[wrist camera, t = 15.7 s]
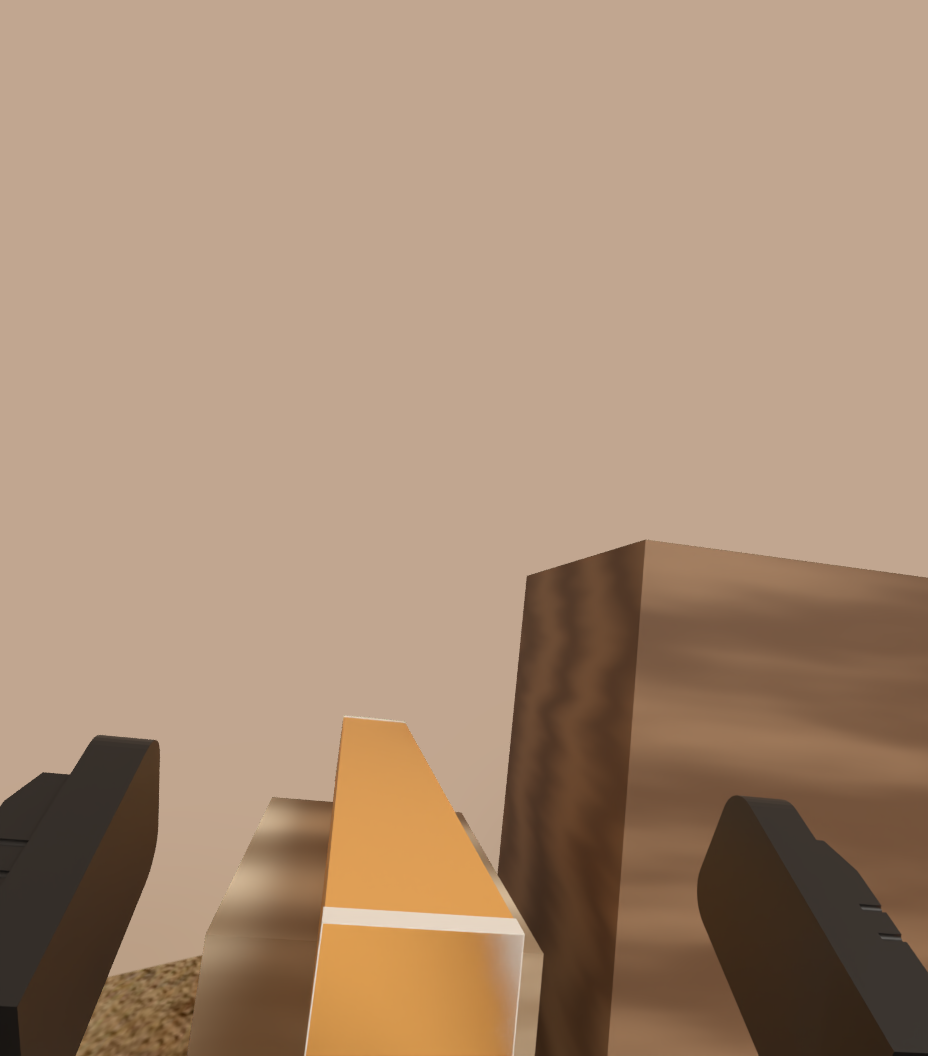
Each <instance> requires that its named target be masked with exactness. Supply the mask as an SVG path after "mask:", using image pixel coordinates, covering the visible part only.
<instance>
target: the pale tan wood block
mask: <svg viewBox="0 0 928 1056" xmlns="http://www.w3.org/2000/svg"><path fill="white" fill-rule="evenodd" d="M524 936H525V934H524V932H523V930H522V928H521V927H520V925H519V923H518V921H517V919H514V918H513V916H512V914H511V912H510V911H509V909H508V907H507V905H506V903H505V902H504V900H503V898H502V896H501V894H500V893H499V891H498V889H497V887H496V885H495V884H494V882H493V880H492V878H491V876H490V875H489V873H488V871H487V869H486V867H485V866H484V864H483V862H482V860H481V858H480V857H479V855H478V853H477V851H476V849H475V848H474V846H473V844H472V842H471V840H470V839H469V837H468V835H467V833H466V831H465V830H464V828H463V826H462V824H461V822H460V821H459V819H458V817H457V815H456V813H455V812H454V810H453V808H452V806H451V805H450V803H449V801H448V799H447V797H446V795H445V794H444V792H443V790H442V788H441V786H440V785H439V783H438V781H437V779H436V777H435V776H434V774H433V772H432V770H431V768H430V767H429V765H428V763H427V761H426V759H425V758H424V756H423V754H422V752H421V750H420V749H419V747H418V745H417V743H416V741H415V740H414V738H413V736H412V734H411V732H410V731H409V729H408V727H407V725H406V722H405V721H397V720H387V719H377V718H367V717H357V716H346V715H344V717H343V724H342V732H341V740H340V747H339V755H338V762H337V770H336V777H335V789H334V798H333V807H332V816H331V824H330V833H329V842H328V851H327V860H326V868H325V877H324V886H323V895H322V903H321V912H320V921H319V930H318V938H317V947H316V956H315V965H314V974H313V982H312V991H311V1000H310V1009H309V1017H308V1026H307V1035H306V1044H305V1052H304V1056H514V1045H515V1035H516V1024H517V1013H518V1002H519V991H520V980H521V969H522V958H523V947H524Z"/></svg>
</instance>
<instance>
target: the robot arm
mask: <svg viewBox="0 0 928 1056" xmlns="http://www.w3.org/2000/svg"><path fill="white" fill-rule="evenodd" d="M159 767H160V749H159V743H158V741H156V740H148V739H137V738H127V737H115V736H105V735H97V736H96V737H94V739H93V740H92V741H91V742H90V744H89V745H88V747H87V748H86V750H85V752H84V754H83V755H82V756H81V758H80V760H79V761H78V763H77V764H76V766H75V768H74V769H73V771H72V772H71V774H70V775H67V774H55V773H44V772H43V773H42V774H40V775H39V776H38V777H36V778H35V779H33V780H32V781H31V782H29V783H28V784H27V785H25V786H24V787H22V788H21V789H20V790H18V791H17V792H16V793H14V794H13V795H12V796H10V797H9V798H8V799H6V800H5V801H4V802H3V803H2V805H1V806H0V1056H76V1053H77V1051H78V1048H79V1046H80V1043H81V1041H82V1038H83V1036H84V1033H85V1031H86V1028H87V1026H88V1024H89V1021H90V1019H91V1016H92V1014H93V1011H94V1009H95V1006H96V1004H97V1001H98V999H99V996H100V994H101V992H102V989H103V987H104V984H105V982H106V979H107V977H108V974H109V972H110V969H111V967H112V964H113V962H114V959H115V957H116V955H117V952H118V949H119V947H120V945H121V942H122V940H123V937H124V935H125V932H126V930H127V927H128V925H129V922H130V920H131V917H132V915H133V912H134V910H135V907H136V905H137V903H138V900H139V898H140V895H141V893H142V890H143V888H144V886H145V883H146V880H147V878H148V875H149V872H150V869H151V865H152V861H153V857H154V853H155V848H156V842H157V835H158V813H159V810H158V809H159ZM697 901H698V908H699V912H700V916H701V919H702V922H703V924H704V927H705V929H706V931H707V934H708V936H709V939H710V941H711V943H712V946H713V948H714V951H715V953H716V955H717V958H718V960H719V962H720V965H721V967H722V970H723V972H724V974H725V977H726V979H727V981H728V984H729V986H730V989H731V991H732V993H733V996H734V998H735V1000H736V1003H737V1005H738V1008H739V1010H740V1012H741V1015H742V1017H743V1020H744V1022H745V1024H746V1027H747V1029H748V1031H749V1034H750V1036H751V1039H752V1041H753V1043H754V1046H755V1048H756V1050H757V1053H758V1055H759V1056H928V972H927V970H926V969H925V967H924V966H923V965H922V963H921V962H920V960H919V959H918V957H917V956H916V954H915V953H914V952H913V950H912V949H911V947H910V946H909V944H908V943H907V942H903V941H902V939H901V935H902V934H901V933H900V931H899V930H898V929H897V927H896V926H895V924H894V923H893V921H892V920H891V918H890V917H889V916H888V914H887V913H886V912H882V910H881V904H880V903H879V901H878V900H877V898H876V897H875V895H874V894H873V893H872V891H871V890H870V888H869V887H868V885H867V884H866V883H865V881H864V880H863V878H862V877H861V875H860V874H859V872H858V871H857V870H856V869H855V868H854V867H852V866H851V865H850V864H849V863H848V862H847V861H846V860H845V859H844V858H843V857H841V856H840V855H839V854H838V853H837V852H836V851H835V850H834V849H833V848H831V847H830V846H829V845H828V844H827V843H826V842H825V841H823V840H816V839H815V837H814V836H813V834H812V833H811V831H810V830H809V828H808V827H807V825H806V824H805V822H804V821H803V819H802V818H801V816H800V815H799V813H798V811H797V810H796V809H795V807H794V806H793V805H792V804H791V803H790V802H788V801H786V800H783V799H773V798H762V797H751V796H740V795H735V796H732V797H731V798H729V799H728V801H727V802H726V804H725V806H724V809H723V811H722V814H721V816H720V819H719V822H718V824H717V827H716V829H715V832H714V835H713V837H712V840H711V843H710V845H709V848H708V850H707V853H706V856H705V858H704V861H703V864H702V866H701V869H700V872H699V875H698V881H697Z"/></svg>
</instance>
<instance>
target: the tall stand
mask: <svg viewBox="0 0 928 1056" xmlns="http://www.w3.org/2000/svg"><path fill="white" fill-rule="evenodd" d="M735 795H740V796H751V797H762V798H773V799H783V800H786V801H788V802H790V803H791V804H792V805H793V806H794V807H795V809H796V810H797V811H798V813H799V815H800V816H801V818H802V819H803V821H804V822H805V824H806V825H807V827H808V828H809V830H810V831H811V833H812V834H813V836H814V837H815V839H816V840H823V841H825V842H826V843H827V844H828V845H829V846H830V847H831V848H833V849H834V850H835V851H836V852H837V853H838V854H839V855H840V856H841V857H843V858H844V859H845V860H846V861H847V862H848V863H849V864H850V865H851V866H852V867H854V868H855V869H856V870H857V871H858V872H859V874H860V875H861V877H862V878H863V880H864V881H865V883H866V884H867V885H868V887H869V888H870V890H871V891H872V893H873V894H874V895H875V897H876V898H877V900H878V901H879V903H880V904H881V910H882V912H886V913H887V914H888V916H889V917H890V918H891V920H892V921H893V923H894V924H895V926H896V927H897V929H898V930H899V931H900V933H901V934H902V935H901V939H902V941H903V942H907V943H908V944H909V946H910V947H911V949H912V950H913V952H914V953H915V954H916V956H917V957H918V959H919V960H920V962H921V963H922V965H923V966H924V967H925V969H926V970H927V972H928V578H926V577H918V576H911V575H903V574H896V573H888V572H881V571H874V570H866V569H859V568H851V567H844V566H837V565H829V564H822V563H815V562H807V561H799V560H791V559H785V558H777V557H770V556H763V555H755V554H748V553H740V552H733V551H726V550H718V549H711V548H704V547H696V546H689V545H681V544H673V543H666V542H659V541H651V540H643V541H640V542H636V543H633V544H630V545H627V546H623V547H620V548H617V549H614V550H610V551H607V552H604V553H600V554H597V555H594V556H591V557H587V558H585V559H581V560H578V561H575V562H571V563H568V564H565V565H561V566H558V567H555V568H551V569H548V570H545V571H542V572H538V573H535V574H532V575H529V576H527V581H526V592H525V601H524V611H523V622H522V631H521V643H520V653H519V662H518V672H517V684H516V693H515V703H514V713H513V723H512V734H511V744H510V754H509V764H508V774H507V785H506V795H505V806H504V815H503V825H502V835H501V845H500V856H499V866H498V877H499V878H500V880H501V882H502V883H503V885H504V887H505V889H506V890H507V892H508V894H509V895H510V897H511V899H512V901H513V902H514V904H515V906H516V907H517V909H518V911H519V913H520V914H521V916H522V918H523V919H524V921H525V923H526V925H527V926H528V928H529V930H530V931H531V933H532V935H533V937H534V938H535V940H536V942H537V944H538V945H539V947H540V949H541V950H542V952H543V954H544V956H543V967H542V979H541V990H540V1002H539V1013H538V1024H537V1036H536V1047H535V1056H759V1055H758V1053H757V1050H756V1048H755V1046H754V1043H753V1041H752V1039H751V1036H750V1034H749V1031H748V1029H747V1027H746V1024H745V1022H744V1020H743V1017H742V1015H741V1012H740V1010H739V1008H738V1005H737V1003H736V1000H735V998H734V996H733V993H732V991H731V989H730V986H729V984H728V981H727V979H726V977H725V974H724V972H723V970H722V967H721V965H720V962H719V960H718V958H717V955H716V953H715V951H714V948H713V946H712V943H711V941H710V939H709V936H708V934H707V931H706V929H705V927H704V924H703V922H702V919H701V916H700V912H699V908H698V901H697V881H698V875H699V872H700V869H701V866H702V864H703V861H704V858H705V856H706V853H707V850H708V848H709V845H710V843H711V840H712V837H713V835H714V832H715V829H716V827H717V824H718V822H719V819H720V816H721V814H722V811H723V809H724V806H725V804H726V802H727V801H728V799H729V798H731V797H732V796H735Z"/></svg>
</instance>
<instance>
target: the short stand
mask: <svg viewBox="0 0 928 1056" xmlns="http://www.w3.org/2000/svg"><path fill="white" fill-rule="evenodd" d="M332 807H333V802H325V801H312V800H301V799H288V798H276V797H272V799H271V801H270V803H269V805H268V808H267V809H266V811H265V814H264V816H263V818H262V820H261V822H260V824H259V826H258V828H257V830H256V832H255V834H254V836H253V838H252V840H251V842H250V844H249V846H248V849H247V851H246V853H245V855H244V857H243V859H242V861H241V863H240V865H239V867H238V869H237V871H236V873H235V876H234V878H233V880H232V881H231V884H230V886H229V888H228V890H227V892H226V894H225V896H224V898H223V900H222V902H221V904H220V906H219V908H218V910H217V912H216V914H215V916H214V918H213V921H212V923H211V925H210V927H209V929H208V931H207V933H206V936H205V942H204V948H203V955H202V961H201V968H200V974H199V981H198V987H197V994H196V1000H195V1007H194V1013H193V1020H192V1026H191V1033H190V1039H189V1046H188V1052H187V1056H304V1052H305V1044H306V1035H307V1026H308V1017H309V1009H310V1000H311V991H312V982H313V974H314V965H315V956H316V947H317V938H318V930H319V921H320V912H321V903H322V895H323V886H324V877H325V868H326V860H327V851H328V842H329V833H330V824H331V816H332ZM455 813H456V815H457V817H458V819H459V821H460V822H461V824H462V826H463V828H464V830H465V831H466V833H467V835H468V837H469V839H470V840H471V842H472V844H473V846H474V848H475V849H476V851H477V853H478V855H479V857H480V858H481V860H482V862H483V864H484V866H485V867H486V869H487V871H488V873H489V875H490V876H491V878H492V880H493V882H494V884H495V885H496V887H497V889H498V891H499V893H500V894H501V896H502V898H503V900H504V902H505V903H506V905H507V907H508V909H509V911H510V912H511V914H512V916H513V918H514V919H517V921H518V923H519V925H520V927H521V928H522V930H523V932H524V934H525V936H524V947H523V958H522V969H521V980H520V991H519V1002H518V1013H517V1024H516V1035H515V1045H514V1056H535V1047H536V1036H537V1024H538V1013H539V1002H540V990H541V979H542V967H543V956H544V954H543V952H542V950H541V949H540V947H539V945H538V944H537V942H536V940H535V938H534V937H533V935H532V933H531V931H530V930H529V928H528V926H527V925H526V923H525V921H524V919H523V918H522V916H521V914H520V913H519V911H518V909H517V907H516V906H515V904H514V902H513V901H512V899H511V897H510V895H509V894H508V892H507V890H506V889H505V887H504V885H503V883H502V882H501V880H500V878H499V877H498V875H497V873H496V872H495V870H494V868H493V867H492V865H491V863H490V861H489V859H488V858H487V856H486V854H485V853H484V851H483V849H482V847H481V846H480V844H479V842H478V840H477V839H476V837H475V835H474V834H473V832H472V830H471V829H470V827H469V825H468V823H467V822H466V820H465V818H464V816H463V815H462V813H460V812H455Z"/></svg>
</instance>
